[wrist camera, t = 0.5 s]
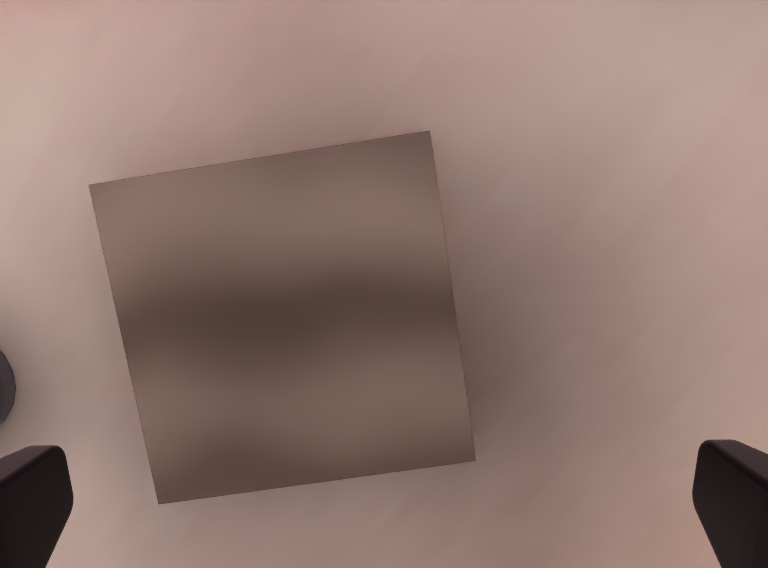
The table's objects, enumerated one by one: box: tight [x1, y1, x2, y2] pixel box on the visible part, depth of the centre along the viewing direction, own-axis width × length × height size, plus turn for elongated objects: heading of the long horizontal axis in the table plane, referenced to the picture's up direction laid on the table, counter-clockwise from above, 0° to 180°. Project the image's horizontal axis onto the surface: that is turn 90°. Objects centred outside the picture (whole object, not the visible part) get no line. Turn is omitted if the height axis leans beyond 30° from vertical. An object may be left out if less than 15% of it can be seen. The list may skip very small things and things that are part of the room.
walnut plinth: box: [89, 131, 476, 504], centre depth 23 cm, size 12×12×2 cm
